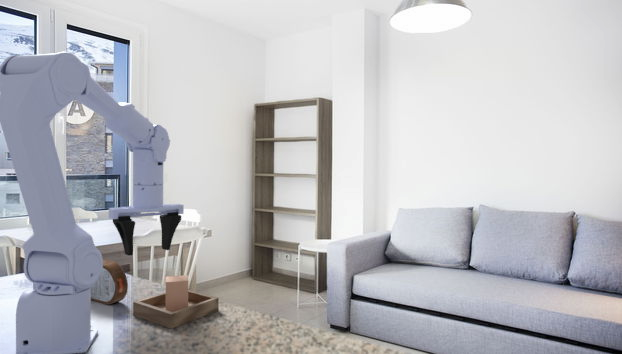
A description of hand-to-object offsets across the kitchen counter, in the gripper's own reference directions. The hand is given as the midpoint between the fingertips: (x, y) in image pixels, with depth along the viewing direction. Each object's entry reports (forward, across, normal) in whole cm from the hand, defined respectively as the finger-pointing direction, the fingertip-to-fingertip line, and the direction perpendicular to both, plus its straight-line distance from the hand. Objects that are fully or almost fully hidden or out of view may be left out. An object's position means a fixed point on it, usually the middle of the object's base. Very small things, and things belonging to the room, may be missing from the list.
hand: (147, 251), depth 85 cm
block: (+10, +2, -9) cm, 14 cm away
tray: (+10, +2, -9) cm, 14 cm away
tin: (+11, -6, +9) cm, 15 cm away
